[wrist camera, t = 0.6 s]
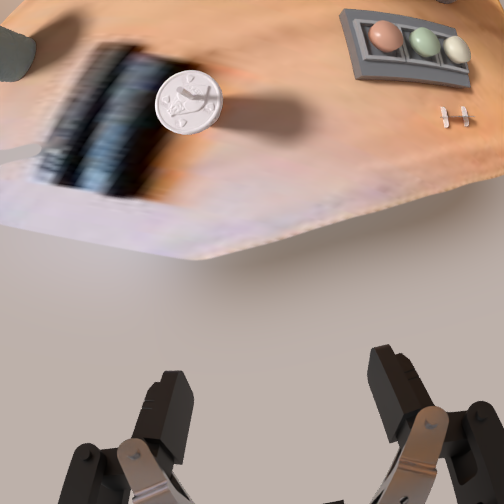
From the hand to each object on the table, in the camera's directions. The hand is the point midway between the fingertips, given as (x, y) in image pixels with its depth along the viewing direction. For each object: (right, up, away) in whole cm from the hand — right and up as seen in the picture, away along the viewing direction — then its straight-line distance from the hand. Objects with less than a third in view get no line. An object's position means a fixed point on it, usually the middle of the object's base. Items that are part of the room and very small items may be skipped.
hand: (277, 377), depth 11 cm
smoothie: (-7, +22, +20) cm, 31 cm away
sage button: (+21, +32, +12) cm, 40 cm away
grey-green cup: (-41, +39, +14) cm, 58 cm away
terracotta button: (+15, +31, +12) cm, 36 cm away
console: (+21, +33, +15) cm, 42 cm away
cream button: (+26, +33, +11) cm, 43 cm away
